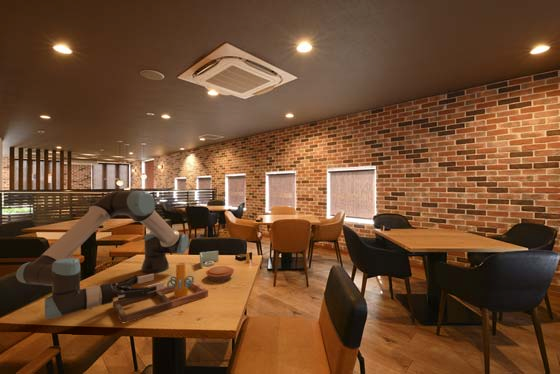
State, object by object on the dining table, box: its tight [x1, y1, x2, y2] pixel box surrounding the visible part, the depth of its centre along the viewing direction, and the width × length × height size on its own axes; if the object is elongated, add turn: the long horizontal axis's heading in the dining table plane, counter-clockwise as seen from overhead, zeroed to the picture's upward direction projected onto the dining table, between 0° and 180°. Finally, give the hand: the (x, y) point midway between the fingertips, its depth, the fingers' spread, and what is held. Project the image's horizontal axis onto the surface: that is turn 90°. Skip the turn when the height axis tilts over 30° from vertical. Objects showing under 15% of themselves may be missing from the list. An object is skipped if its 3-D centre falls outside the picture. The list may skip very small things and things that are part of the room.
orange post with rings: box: [166, 262, 195, 299], centre depth 117 cm, size 12×10×15 cm
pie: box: [205, 265, 235, 282], centre depth 140 cm, size 15×16×5 cm
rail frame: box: [112, 279, 209, 323], centre depth 111 cm, size 18×34×2 cm, turn 134°
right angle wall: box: [199, 250, 219, 269], centre depth 163 cm, size 12×12×8 cm
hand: (158, 280), depth 110 cm, fingers open, 13 cm apart
